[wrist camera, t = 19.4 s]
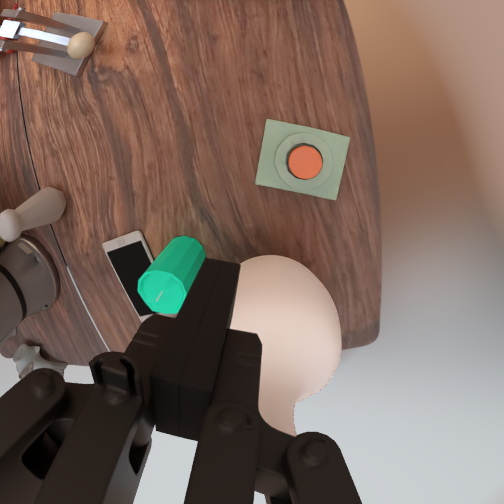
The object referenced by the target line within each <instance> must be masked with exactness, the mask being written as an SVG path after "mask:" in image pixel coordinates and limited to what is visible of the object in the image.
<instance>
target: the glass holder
mask: <svg viewBox="0 0 504 504" xmlns="http://www.w3.org/2000/svg"><path fill="white" fill-rule="evenodd" d="M15 335H16V328H15V329H14V330H13V331H12V332H11V333H10V334H9V335H8V336H7V337H6V338H5V339H4V340H3V342H2V343H1V344H0V349H1V348H2V347H3V346H4V344H5V343H6V342H7V341H8V340H9V339H10V338H11V337H13V336H15Z"/></svg>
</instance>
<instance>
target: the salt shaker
mask: <svg viewBox="0 0 504 504" xmlns="http://www.w3.org/2000/svg"><path fill="white" fill-rule="evenodd" d="M66 204H67V201H66V199H65V196H64V193H63V192H62V191H59V190H57V189H55V188H53V187H44V188H43V189H41V190H40V191H39V192H37V193H36V194H35V195H33V196H32V197H31V198H29V199H28V200H27V201H25V202H24V203H23V204H21V205H20V206H19V207H17V208H16V209H15V210H12V209H7V210H4V211H3V212H2V213H1V214H0V236H1V237H2V238H3V239H4V240H5V241H7V242H11V241H14V240H15V239H17V238H18V237H19V236H20V234H21V232H22V231H24V230H28V229H31V228H35V227H39V226H43V225H47V224H51V223H54V222H56V221H58V220H59V219H60V217H61V215H62V214H63V212H64V210H65V207H66Z"/></svg>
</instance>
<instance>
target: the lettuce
mask: <svg viewBox="0 0 504 504" xmlns="http://www.w3.org/2000/svg"><path fill="white" fill-rule="evenodd" d="M5 242H6V241H5V240H4V239H3V238H2V237H1V236H0V249H1V248H2V247H3V245H4V244H5Z"/></svg>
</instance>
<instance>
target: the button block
mask: <svg viewBox="0 0 504 504" xmlns="http://www.w3.org/2000/svg"><path fill="white" fill-rule="evenodd" d="M349 141H350V137H347V136H344V135H340V134H336V133H332V132H328V131H324V130H319V129H315V128H311V127H306V126H302V125H297V124H292V123H287V122H282V121H277V120H271V119H266V125H265V130H264V136H263V141H262V147H261V152H260V158H259V163H258V169H257V175H256V180H255V184H256V185H262V186H267V187H273V188H278V189H283V190H288V191H293V192H298V193H303V194H308V195H312V196H317V197H322V198H326V199H331V200H336V198H337V194H338V190H339V186H340V181H341V177H342V173H343V168H344V164H345V159H346V155H347V150H348V146H349ZM302 145H305V146H310V147H312V148H314V149H315V150H317V151H318V153H319V154H320V156H321V158H322V168H321V170H320V172H319V173H318V174H317V175H316V176H315V177H313V178H310V179H301V178H299V177H297V176H295V175H294V174H293V173H292V171H291V170H290V167H289V164H288V157H289V154H290V153H291V151H292V150H293V149H294V148H296V147H298V146H302Z"/></svg>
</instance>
